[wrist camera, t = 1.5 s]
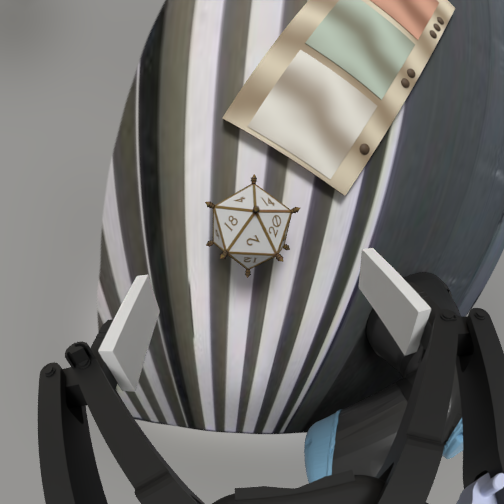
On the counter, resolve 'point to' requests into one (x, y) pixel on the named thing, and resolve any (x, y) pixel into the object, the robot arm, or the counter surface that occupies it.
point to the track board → (339, 81)
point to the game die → (250, 226)
